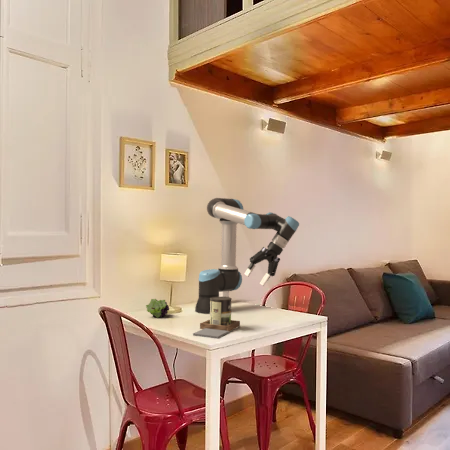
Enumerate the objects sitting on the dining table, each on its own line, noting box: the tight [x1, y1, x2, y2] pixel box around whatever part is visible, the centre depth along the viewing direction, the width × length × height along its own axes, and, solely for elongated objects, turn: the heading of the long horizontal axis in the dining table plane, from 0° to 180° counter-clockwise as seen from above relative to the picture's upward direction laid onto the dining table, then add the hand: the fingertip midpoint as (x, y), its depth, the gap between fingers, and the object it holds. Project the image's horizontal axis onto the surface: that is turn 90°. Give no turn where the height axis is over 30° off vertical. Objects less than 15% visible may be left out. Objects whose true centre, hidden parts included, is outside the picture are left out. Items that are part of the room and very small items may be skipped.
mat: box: [192, 328, 230, 339], centre depth 202 cm, size 12×12×1 cm
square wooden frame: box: [199, 319, 241, 332], centre depth 216 cm, size 14×14×2 cm
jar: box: [219, 291, 230, 297], centre depth 285 cm, size 9×8×12 cm
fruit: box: [145, 298, 170, 319], centre depth 238 cm, size 10×10×15 cm
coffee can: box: [209, 296, 232, 326], centre depth 216 cm, size 10×10×14 cm
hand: (253, 280), depth 226 cm, fingers open, 13 cm apart
